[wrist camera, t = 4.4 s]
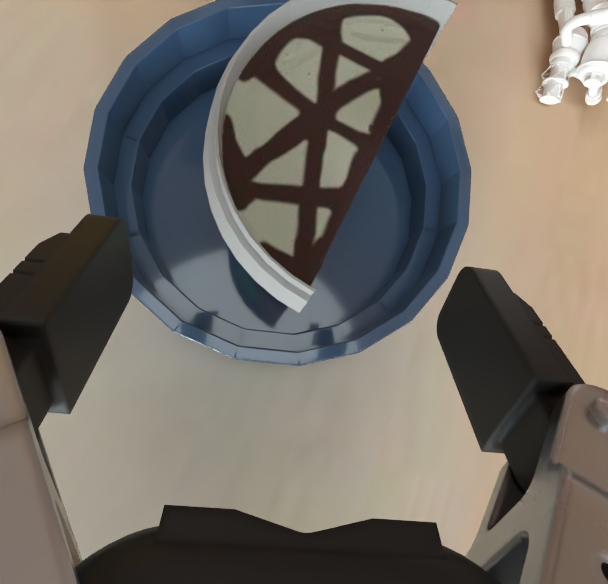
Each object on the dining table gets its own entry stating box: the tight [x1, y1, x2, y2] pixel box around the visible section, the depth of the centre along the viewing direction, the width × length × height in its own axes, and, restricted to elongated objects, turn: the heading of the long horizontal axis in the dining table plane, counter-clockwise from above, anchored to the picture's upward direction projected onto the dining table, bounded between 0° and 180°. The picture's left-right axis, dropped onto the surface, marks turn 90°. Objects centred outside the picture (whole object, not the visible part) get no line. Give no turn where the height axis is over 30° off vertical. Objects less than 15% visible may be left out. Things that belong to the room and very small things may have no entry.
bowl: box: [84, 0, 471, 366], centre depth 21 cm, size 18×18×4 cm
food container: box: [203, 0, 458, 313], centre depth 18 cm, size 12×6×10 cm, turn 153°
